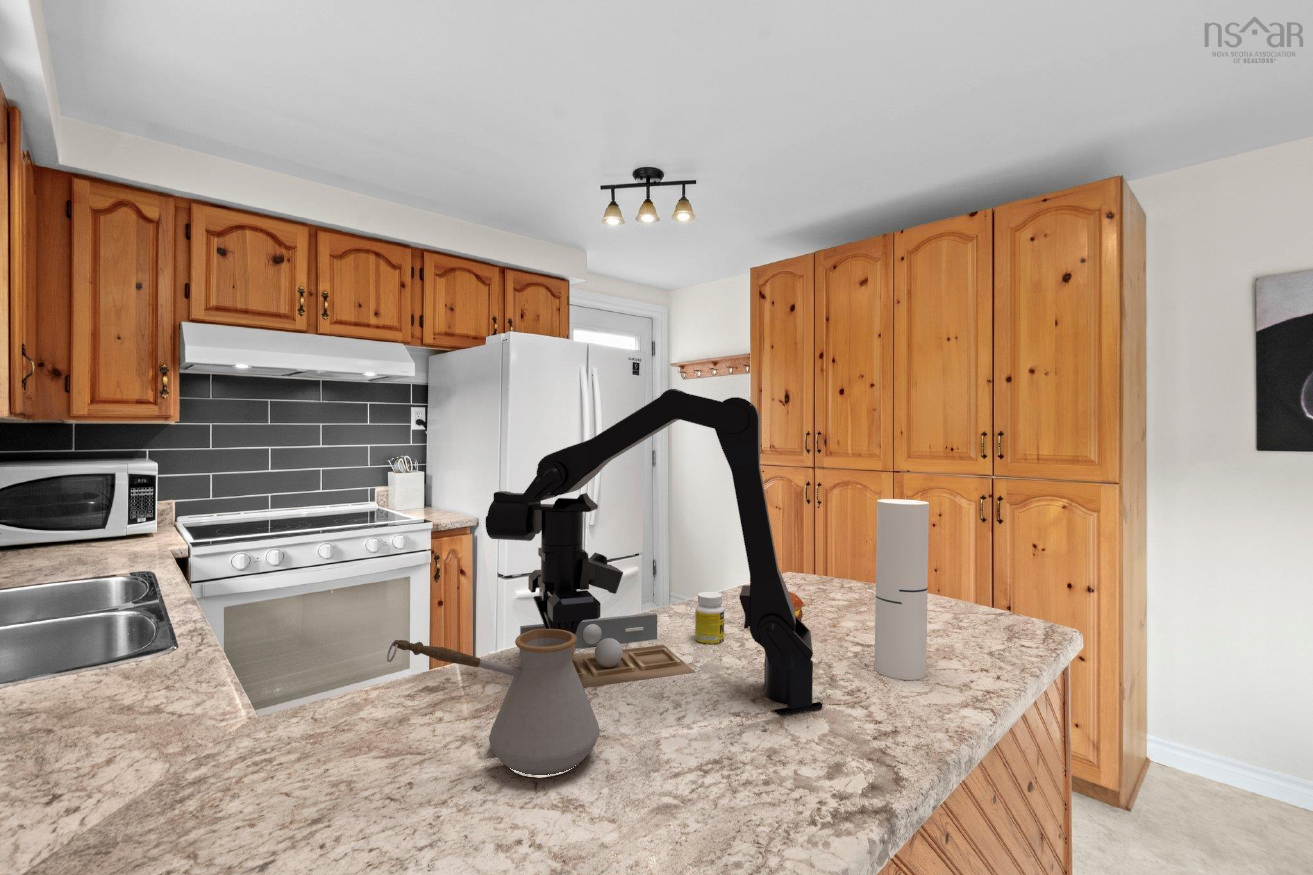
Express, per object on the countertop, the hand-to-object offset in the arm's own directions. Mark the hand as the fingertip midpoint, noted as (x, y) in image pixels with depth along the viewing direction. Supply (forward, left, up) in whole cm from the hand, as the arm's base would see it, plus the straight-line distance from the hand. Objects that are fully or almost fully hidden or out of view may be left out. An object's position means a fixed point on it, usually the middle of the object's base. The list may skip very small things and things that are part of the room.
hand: (560, 654), depth 87 cm
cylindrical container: (-13, -48, -4) cm, 50 cm away
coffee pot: (-21, +11, -4) cm, 24 cm away
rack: (0, -7, -4) cm, 8 cm away
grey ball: (0, -7, -3) cm, 7 cm away
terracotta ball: (0, 0, -1) cm, 1 cm away
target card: (+10, -7, -4) cm, 12 cm away
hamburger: (+11, -42, -4) cm, 44 cm away
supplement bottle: (+6, -26, -4) cm, 27 cm away
